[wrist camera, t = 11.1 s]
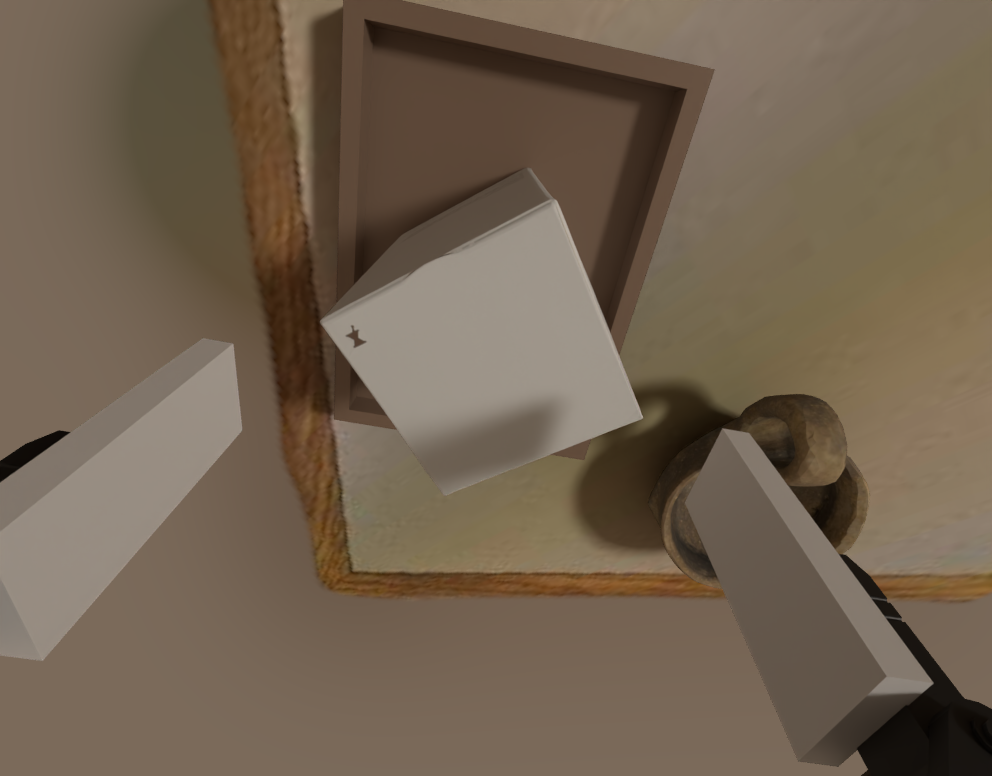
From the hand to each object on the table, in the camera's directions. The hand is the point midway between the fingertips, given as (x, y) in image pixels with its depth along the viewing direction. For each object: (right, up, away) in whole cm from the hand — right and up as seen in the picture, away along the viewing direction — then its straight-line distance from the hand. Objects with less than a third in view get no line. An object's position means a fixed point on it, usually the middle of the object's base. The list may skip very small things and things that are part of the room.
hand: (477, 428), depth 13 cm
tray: (0, +9, +17) cm, 20 cm away
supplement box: (+1, +9, +17) cm, 19 cm away
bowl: (+19, -4, +24) cm, 31 cm away
